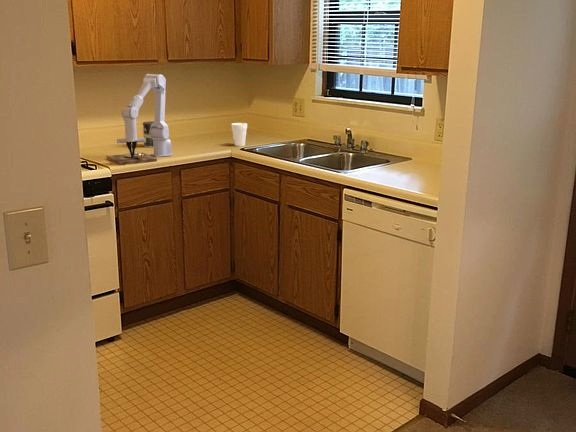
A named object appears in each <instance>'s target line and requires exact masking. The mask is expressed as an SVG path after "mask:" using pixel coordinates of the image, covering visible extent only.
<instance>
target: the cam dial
mask: <svg viewBox="0 0 576 432" xmlns="http://www.w3.org/2000/svg"><path fill="white" fill-rule="evenodd" d="M124 154H125V157H128V158H137V159H141V154H143V156H144V152H137V151H134V157H131V154H130V152H127V153H124Z"/></svg>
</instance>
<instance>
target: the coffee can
mask: <svg viewBox="0 0 576 432" xmlns="http://www.w3.org/2000/svg"><path fill="white" fill-rule="evenodd" d="M153 122H154V121H150V120H149V121H144V122H142V127H143V128H142V129H143V130H142V131H143V138H146V143H144V142H143V147H145V148H150V149H151V148H153V139H152V137H151V136H150V134H149V132H150V128H151V124H152V123H153Z"/></svg>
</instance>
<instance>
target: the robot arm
mask: <svg viewBox="0 0 576 432" xmlns="http://www.w3.org/2000/svg"><path fill="white" fill-rule="evenodd" d="M142 80H143V82H142V85H141V86H140V89H139V91H138V92H137V94H136V95H132V97H131V100H130V101H129V103H128V104H127V106H125V107H123V109H122V110H121V116H122V118H123V122H124V132H125V133H124V134H125V135H124V137H125V138H117V139H116V143H117V144H126V146H127V149H128V151H129V153H130V154H131V157H134V152H136V151H135V150H136V148H137V145H138V143H143V144H144V143H146V138H144V137H143V138H141V137H140V138H139V137H138V135H137V134H138V133H137V118H138V116H139V111H140V108H141V107H142V105H143V104H144V98H145V96H146V95H147V94H148V92H149V91H150V90H151V89H152V90H153V92H154V93H155V94H154V122H153V123H152V124H151V128H150V132H149V134H150V136H151V137H152V139H153V153H151V154H150V156H152V157H154V158H161V157H168V156H173V153H172V151H173V150H172V141H171V139H170V138H169V136H170V130H169V125H168V124H167V123H166V122H165V119H166V118H165V117H166V113H165V112H166V87H167V86H166V80H167V79H166V77H165V76H164V75H163V74H161V73H160V74H154V73H152V74H151V73H146V74H145V76H144V77H143V79H142Z"/></svg>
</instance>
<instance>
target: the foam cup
mask: <svg viewBox="0 0 576 432" xmlns="http://www.w3.org/2000/svg"><path fill="white" fill-rule="evenodd" d="M247 130H248V123H246V122H234V123H231V131H232V138H233V144H234V146H235V147H244V146H245V145H246V139H247V138H246V137H247Z"/></svg>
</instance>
